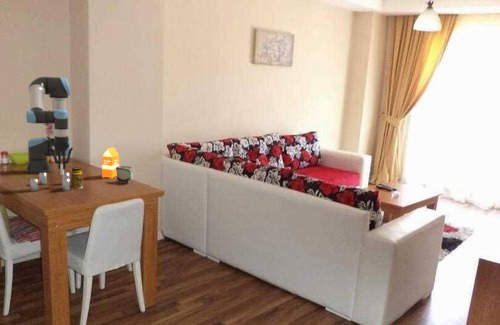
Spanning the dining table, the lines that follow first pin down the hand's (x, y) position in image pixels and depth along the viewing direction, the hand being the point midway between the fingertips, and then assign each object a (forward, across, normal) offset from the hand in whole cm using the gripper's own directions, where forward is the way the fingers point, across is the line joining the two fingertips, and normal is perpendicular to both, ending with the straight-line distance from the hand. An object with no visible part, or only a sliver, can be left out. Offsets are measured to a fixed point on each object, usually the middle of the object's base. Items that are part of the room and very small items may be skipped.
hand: (62, 174), depth 257 cm
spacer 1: (+8, -14, -9) cm, 18 cm away
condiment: (+8, +7, -2) cm, 11 cm away
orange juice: (+9, +27, +27) cm, 39 cm away
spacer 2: (+8, -12, +7) cm, 16 cm away
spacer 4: (+8, +3, -9) cm, 12 cm away
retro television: (+8, +37, +11) cm, 40 cm away
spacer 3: (+8, +1, +7) cm, 11 cm away
